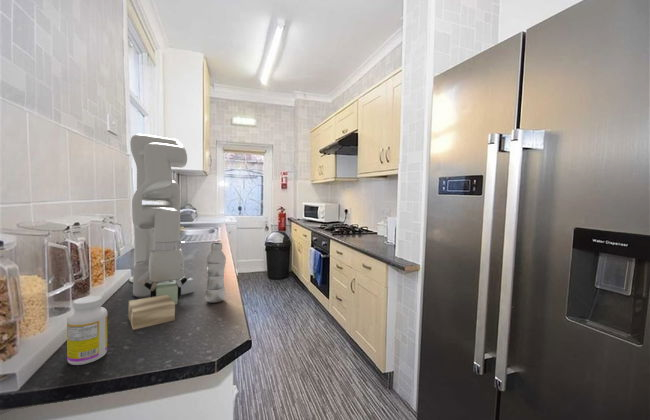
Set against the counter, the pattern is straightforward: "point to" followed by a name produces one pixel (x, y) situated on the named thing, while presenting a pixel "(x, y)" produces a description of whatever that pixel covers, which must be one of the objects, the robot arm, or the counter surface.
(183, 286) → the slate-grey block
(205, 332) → the counter surface
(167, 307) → the beech block
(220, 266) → the plastic bottle
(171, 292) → the sage-green block
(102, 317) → the supplement bottle
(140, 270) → the can
